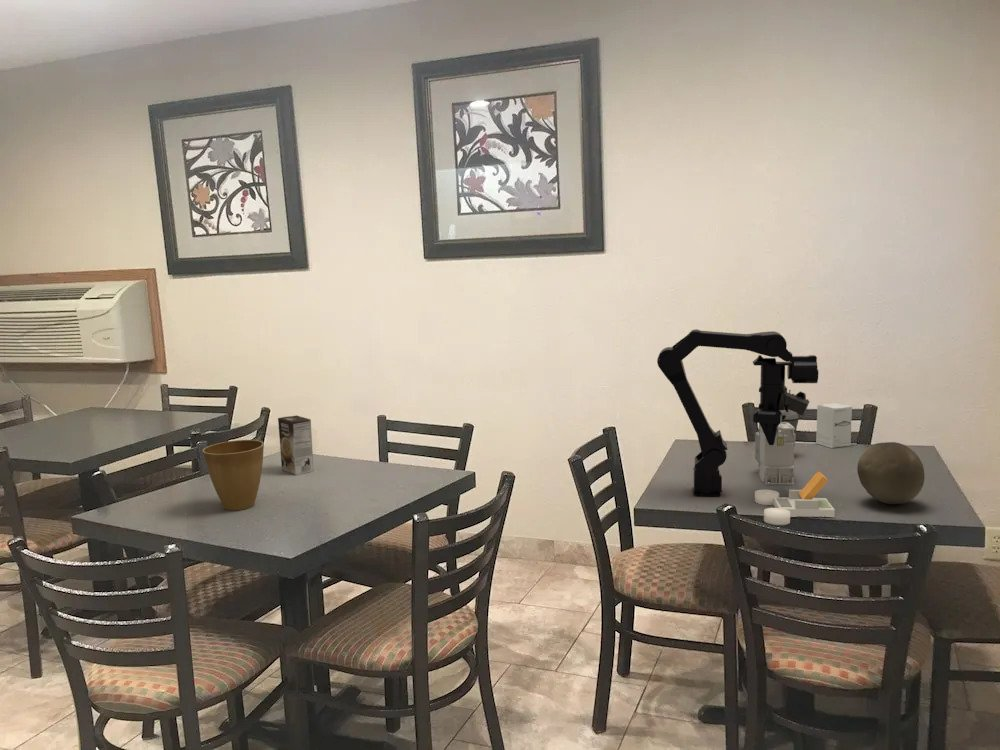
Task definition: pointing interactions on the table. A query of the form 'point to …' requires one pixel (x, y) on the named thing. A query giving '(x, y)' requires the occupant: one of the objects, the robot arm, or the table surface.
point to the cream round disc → (777, 516)
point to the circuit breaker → (776, 455)
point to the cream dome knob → (765, 496)
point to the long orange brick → (813, 486)
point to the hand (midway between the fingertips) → (771, 444)
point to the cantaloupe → (891, 472)
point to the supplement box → (834, 425)
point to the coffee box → (296, 444)
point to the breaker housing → (804, 505)
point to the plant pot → (235, 471)
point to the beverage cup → (791, 418)
